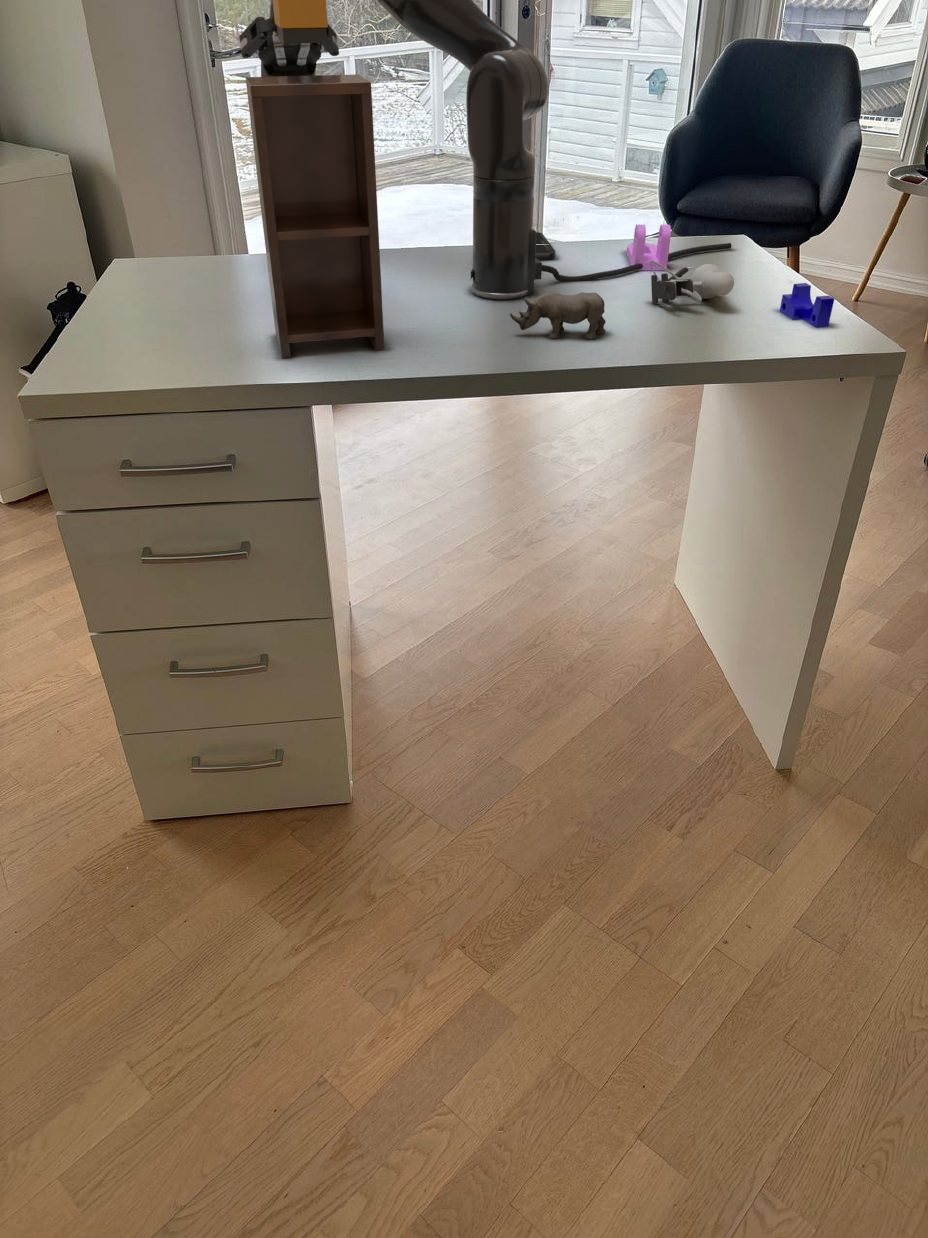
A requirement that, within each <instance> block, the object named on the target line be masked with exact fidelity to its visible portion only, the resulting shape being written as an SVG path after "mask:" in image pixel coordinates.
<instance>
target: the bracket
mask: <svg viewBox="0 0 928 1238" xmlns="http://www.w3.org/2000/svg"><path fill="white" fill-rule="evenodd" d="M646 236H647V226H646V224H636V225H635V227H634V233H633V242H632V243H629V244H627V246H626V256H627V257H626V258H627V259H628V261H629V263H630V266H631V265H635V264H639V263H640V264H642V265H643V268H641V269H638V270H637V271H652V269H651V266H650V261H651V260H653V261H656V262H658V263H660V264H661V265H663V266H664V267H666V268H667V267H668V262H669V259H668V254H669V253H670V246H671V237H672V228H671V225H670V224H660V226H659V228H658V236H657V244H655V243H649V242H646V238H647V237H646ZM652 266H653V269H654V271H665V270H664V269H663V268H661V267H660V266H658V265H657V264H655V263H652ZM667 269H668V268H667Z"/></svg>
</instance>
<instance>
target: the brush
mask: <svg viewBox="0 0 928 1238" xmlns="http://www.w3.org/2000/svg"><path fill="white" fill-rule="evenodd" d="M327 8H328V7H327V0H273V9H274V19H275V24H276V25H277V31H278V39H279V40H281V41H282V42H283V43H284V44H290V43H327V34H326V28H327V27H328V24H329V22H328V11H327V10H328V9H327Z"/></svg>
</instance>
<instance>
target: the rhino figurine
mask: <svg viewBox="0 0 928 1238" xmlns="http://www.w3.org/2000/svg"><path fill="white" fill-rule="evenodd" d="M524 302H525V304H526V305H527V309H526V311H525V312H523V311H520V310H519V311H518V314H519V315H520V316H517V315H516V316H515V315H514V314H513V313H511V312H509V315H510V318H511V319H512V321H514V322H515V323H517V324H518V325H519V328H520V330H521V331H525V330H527V329H529V328H531V327H534V326H535V325H536V324H537V323H538V322H540V319H541V318H543V319H548V320H549V321H550V325H551V327H552V328H551V329H552V331H551V333H550V334H549V339H553V340H555V339H558V338H559V337H560V336H561V335H560V334H561V333H563V332H564V331H565V327H564V323H565V324H569V325H574V324H575V325H576V324H579V323H582V322H583V321H585V320H587V322H588V324H589V325H588V330H587V331H586V333H585V334H584V339H589V340H592V339H595V338H596V337H597V335H602V334H605V333H606V330H605V324H606V321H607V320H606V319H605V318H604V317H603V315H604V313H605V311H606V310H605V306H606V305H605V301H604V299H603V297H602V296H601V295H600V294H599V293H597V292H585V291H581V292H578V293H574V294H569V295H568V294H563V293H561V292H558V291H549V292H546V293H543V294H542V295H541V296H538V297H537V298H535V299H533V300H531V299H530V298H528V297H527V296H524Z"/></svg>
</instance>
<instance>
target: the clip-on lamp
mask: <svg viewBox="0 0 928 1238" xmlns="http://www.w3.org/2000/svg"><path fill="white" fill-rule="evenodd" d="M652 263H655V264H657V265H658V266H660V267H661V268H663V269H664V270H663V271H665V272H666V273H665V272H664V273H661V275H660V278H659V277H658V275H657V273H656V270H654V269H653V266H652ZM650 266H651V269H652V270H651V271H652V275H651V276H650V280H651V282H650V283H651V303H652V304H653V305H658V304H659V300H661V302H662V303H668V302H669V301H674V300H676V299H680V298H692V299H694V300H695V301H696V302H697V303H701V302H702V301H703V299H712V298H714V297H715V296H727V295H728V294H730V293H731V292H732V290H733V289H734V287H735V279H734V276H733V275H732V274H731V273H730V272H728V271H722V269H720V268H719V267H718V266H717V265H715V264H712V263H705V264H701V265H700V266H698V267H697V268H695V270H693V272H692V273H691V276H690V278H683V276H684V275H685V274H687V273H688V272H689V271H690V270H691V269H692V266H687V267H682V268H681V269H680V270H678V271H677V272H676V273H674V272H672V271H671V270H670V269H669V268H666V267H664V266H663V265H661V264H660V263H658V262H656V261H653V260H651V261H650ZM669 275H671V276H670V277H669Z"/></svg>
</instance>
